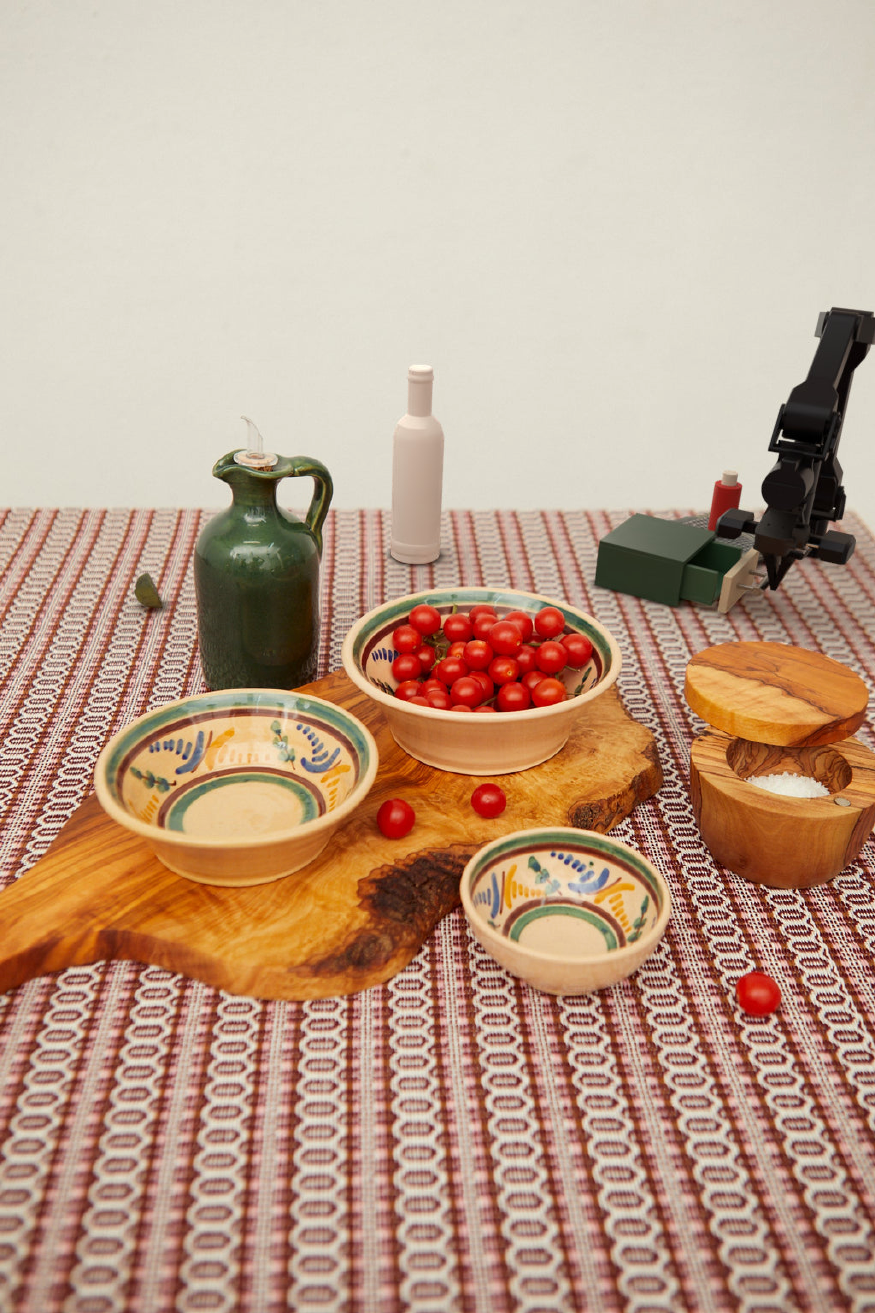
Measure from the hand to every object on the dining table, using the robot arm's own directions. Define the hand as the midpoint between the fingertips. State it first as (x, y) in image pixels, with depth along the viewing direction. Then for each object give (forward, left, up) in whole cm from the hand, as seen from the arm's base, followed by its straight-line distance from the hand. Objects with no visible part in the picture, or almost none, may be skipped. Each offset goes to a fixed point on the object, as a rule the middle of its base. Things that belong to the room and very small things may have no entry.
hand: (773, 589), depth 160 cm
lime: (+52, -73, -4) cm, 90 cm away
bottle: (+14, -53, -4) cm, 55 cm away
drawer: (0, -9, -3) cm, 9 cm away
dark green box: (0, -18, -4) cm, 19 cm away
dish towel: (-20, -15, -4) cm, 25 cm away
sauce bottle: (-20, -15, -1) cm, 25 cm away
